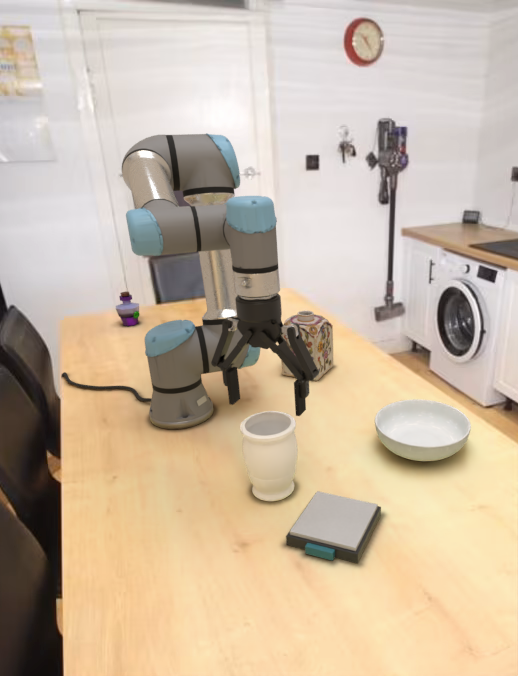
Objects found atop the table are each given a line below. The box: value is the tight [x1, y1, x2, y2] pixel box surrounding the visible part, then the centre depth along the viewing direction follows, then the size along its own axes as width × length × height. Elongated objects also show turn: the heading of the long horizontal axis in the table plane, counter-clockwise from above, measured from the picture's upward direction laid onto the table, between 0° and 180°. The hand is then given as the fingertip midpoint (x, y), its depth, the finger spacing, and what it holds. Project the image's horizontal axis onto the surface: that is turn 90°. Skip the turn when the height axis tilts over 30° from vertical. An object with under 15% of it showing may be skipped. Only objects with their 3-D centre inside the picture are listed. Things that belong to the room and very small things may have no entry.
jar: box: [239, 410, 299, 502], centre depth 104 cm, size 11×10×15 cm
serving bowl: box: [374, 398, 472, 462], centre depth 120 cm, size 21×21×7 cm
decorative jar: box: [280, 310, 334, 382], centre depth 155 cm, size 12×12×18 cm
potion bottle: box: [115, 291, 141, 328], centre depth 196 cm, size 9×9×12 cm
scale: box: [285, 490, 382, 564], centre depth 95 cm, size 13×14×3 cm
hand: (267, 407), depth 99 cm, fingers open, 13 cm apart
